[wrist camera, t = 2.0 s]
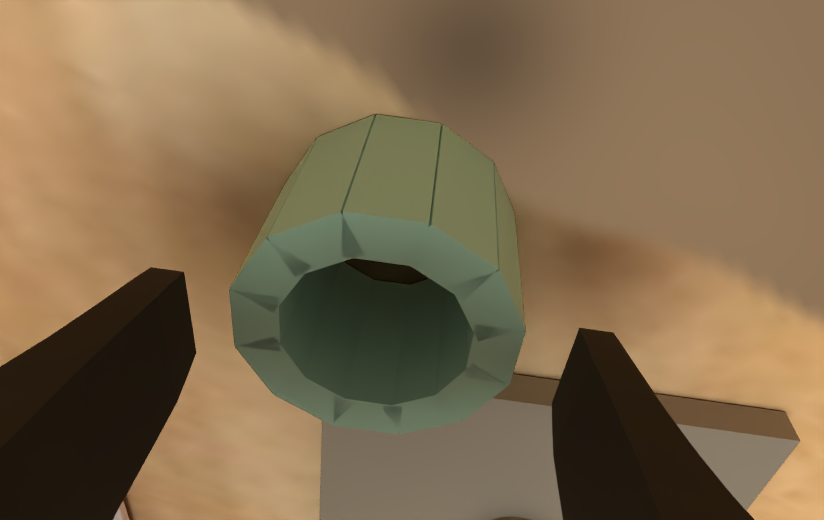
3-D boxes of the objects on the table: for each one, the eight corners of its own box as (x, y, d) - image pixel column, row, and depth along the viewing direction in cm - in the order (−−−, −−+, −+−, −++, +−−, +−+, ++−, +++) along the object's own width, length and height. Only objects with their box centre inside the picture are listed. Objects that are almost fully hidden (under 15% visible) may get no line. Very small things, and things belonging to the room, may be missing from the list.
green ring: (288, 294, 16) (240, 412, 13) (283, 102, 13) (220, 194, 10) (488, 322, 16) (491, 447, 13) (533, 135, 13) (552, 240, 10)
